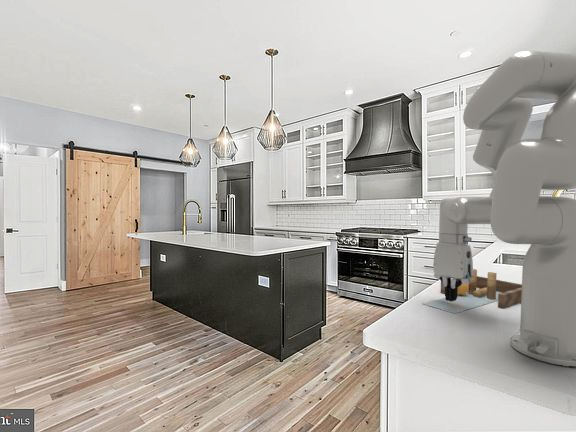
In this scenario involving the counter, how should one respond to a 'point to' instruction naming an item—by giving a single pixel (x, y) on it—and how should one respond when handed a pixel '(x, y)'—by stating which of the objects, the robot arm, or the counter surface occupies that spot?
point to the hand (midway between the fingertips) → (450, 300)
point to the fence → (508, 289)
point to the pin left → (473, 282)
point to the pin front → (480, 292)
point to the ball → (463, 289)
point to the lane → (461, 303)
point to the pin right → (491, 285)
